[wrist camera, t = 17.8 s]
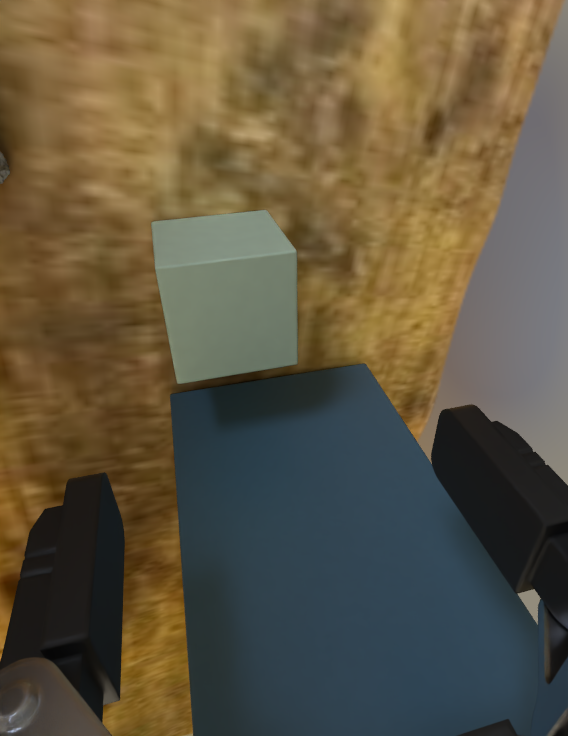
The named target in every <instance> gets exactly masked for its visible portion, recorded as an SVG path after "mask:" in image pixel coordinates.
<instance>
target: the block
mask: <svg viewBox="0 0 568 736" xmlns="http://www.w3.org/2000/svg"><path fill="white" fill-rule="evenodd" d="M151 227H152V238H153V250H154V261H155V271H156V276H157V281H158V286H159V292H160V297H161V302H162V307H163V312H164V318H165V323H166V328H167V333H168V339H169V344H170V349H171V354H172V359H173V365H174V370H175V375H176V380H177V383H178V384H183V383H189V382H195V381H201V380H207V379H213V378H219V377H225V376H231V375H237V374H243V373H249V372H255V371H261V370H267V369H273V368H279V367H285V366H291V365H296V364H298V311H297V251H296V249H295V248H294V247H293V245H292V244H291V243H290V241H289V240H288V239H287V237H286V236H285V234H284V233H283V232H282V230H281V229H280V228H279V226H278V225H277V224H276V222H275V221H274V219H273V218H272V217H271V215H270V214H269V213H268V211H267V210H260V211H250V212H241V213H231V214H221V215H211V216H202V217H192V218H182V219H172V220H163V221H153V222H152V223H151Z"/></svg>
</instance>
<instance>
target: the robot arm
mask: <svg viewBox="0 0 568 736" xmlns="http://www.w3.org/2000/svg"><path fill="white" fill-rule="evenodd" d="M431 460H432V466H433V470H434V472H435V475H436V477H437V478H438V480H439V481H440V483H441V484H442V486H443V487H444V489H445V490H446V492H447V493H448V495H449V496H450V498H451V499H452V501H453V502H454V503H455V505H456V506H457V508H458V509H459V511H460V512H461V514H462V515H463V517H464V518H465V520H466V521H467V523H468V524H469V526H470V527H471V529H472V530H473V532H474V533H475V535H476V536H477V538H478V539H479V540H480V542H481V543H482V545H483V546H484V548H485V549H486V551H487V552H488V554H489V555H490V557H491V558H492V560H493V561H494V563H495V564H496V566H497V567H498V569H499V570H500V572H501V573H502V575H503V576H504V578H505V579H506V580H507V582H508V583H509V585H510V586H511V588H512V589H513V591H514V592H515V594H517V593H521V592H525V591H528V590H531V589H535V591H536V592H537V593H538V595H539V596H540V598H541V599H540V602H539V605H538V692H537V699H536V703H535V707H534V711H533V715H532V721H531V730H530V736H568V485H567V484H566V483H565V482H564V481H563V480H562V479H561V478H560V477H559V476H558V475H557V474H556V473H555V472H554V471H553V470H552V469H551V468H550V467H549V465H545V461H543V459H542V458H541V457H540V456H539V455H538V454H537V453H536V452H533V450H532V448H531V447H530V446H529V445H528V443H526V441H525V440H524V439H523V438H522V437H521V436H520V435H519V434H518V433H517V432H515V431H513V430H511V429H510V428H508V427H507V426H505V425H503V424H502V423H500V422H498V421H494V422H491V421H490V420H489V419H488V418H487V417H486V416H485V414H484V413H483V412H482V411H481V410H480V409H479V408H478V407H477V406H475V405H465V406H461V407H455V408H450V409H445V410H442V411H441V413H440V415H439V419H438V424H437V429H436V434H435V439H434V443H433V448H432V453H431ZM124 548H125V541H124V529H123V523H122V518H121V515H120V512H119V509H118V506H117V503H116V500H115V497H114V494H113V491H112V488H111V485H110V482H109V479H108V476H107V474H106V473H105V472H104V473H99V474H93V475H88V476H83V477H77V478H72V479H69V480H68V482H67V485H66V490H65V496H64V503H63V505H62V506H57V507H52V508H47V509H45V510H44V511H43V513H42V514H41V516H40V517H39V518H38V520H37V521H36V523H35V524H34V526H33V527H32V529H31V530H30V533H29V537H28V542H27V546H26V551H25V555H24V556H25V560H23V564H22V569H21V573H20V577H21V579H20V580H19V582H18V586H17V591H16V595H15V600H14V604H13V609H12V613H11V618H10V622H9V627H8V631H7V636H6V640H5V645H4V649H3V654H2V658H1V661H0V736H112V735H111V734H110V732H109V731H108V730H107V728H106V727H105V726H104V725H103V723H102V718H103V705H105V704H109V703H112V702H116V701H119V700H120V681H121V647H122V614H123V581H124ZM457 736H523V735H517V733H516V731H515V730H514V728H513V726H512V724H511V722H510V720H509V719H506V720H503V721H500V722H496V723H493V724H490V725H487V726H484V727H481V728H478V729H475V730H472V731H469V732H466V733H463V734H460V735H457Z"/></svg>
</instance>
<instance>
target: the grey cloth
mask: <svg viewBox="0 0 568 736" xmlns="http://www.w3.org/2000/svg"><path fill="white" fill-rule="evenodd" d="M9 174H10V170H9V166H8V164H7V160H6V159H5V158H4V157H3V154H2V153H1V152H0V184H1V183H3V181H4V179H6V178H7V176H8V175H9Z"/></svg>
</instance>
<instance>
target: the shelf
mask: <svg viewBox="0 0 568 736" xmlns="http://www.w3.org/2000/svg"><path fill="white" fill-rule="evenodd" d="M170 402H171V416H172V431H173V446H174V460H175V475H176V490H177V504H178V519H179V533H180V548H181V563H182V577H183V592H184V607H185V621H186V636H187V651H188V665H189V680H190V694H191V709H192V724H193V736H457V735H460V734H463V733H466V732H469V731H472V730H475V729H478V728H481V727H484V726H487V725H490V724H493V723H496V722H500V721H503V720H506V719H509V720H510V722H511V724H512V726H513V728H514V730H515V731H516V733H517V735H523V736H530V730H531V721H532V715H533V711H534V707H535V703H536V699H537V692H538V625H537V623H536V622H535V620H534V619H533V617H532V616H531V614H530V613H529V611H528V610H527V608H526V607H525V605H524V603H523V602H522V601H521V599H520V598H519V596H518V594H515V592H514V591H513V589H512V588H511V586H510V585H509V583H508V582H507V580H506V579H505V578H504V576H503V575H502V573H501V572H500V570H499V569H498V567H497V566H496V564H495V563H494V561H493V560H492V558H491V557H490V555H489V554H488V552H487V551H486V549H485V548H484V546H483V545H482V543H481V542H480V540H479V539H478V538H477V536H476V535H475V533H474V532H473V530H472V529H471V527H470V526H469V524H468V523H467V521H466V520H465V518H464V517H463V515H462V514H461V512H460V511H459V509H458V508H457V506H456V505H455V503H454V502H453V501H452V499H451V498H450V496H449V495H448V493H447V492H446V490H445V489H444V487H443V486H442V484H441V483H440V481H439V480H438V478H437V477H436V475H435V472H434V470H433V466H432V464H431V462H430V461H429V459H428V458H427V456H426V455H425V453H424V452H423V450H422V449H421V447H420V446H419V444H418V443H417V441H416V440H415V438H414V437H413V435H412V434H411V432H410V430H409V429H408V427H407V426H406V424H405V423H404V421H403V420H402V418H401V417H400V415H399V414H398V412H397V411H396V409H395V408H394V406H393V405H392V403H391V402H390V400H389V399H388V397H387V396H386V394H385V393H384V391H383V390H382V388H381V386H380V385H379V383H378V382H377V380H376V379H375V377H374V376H373V374H372V373H371V371H370V370H369V368H368V367H367V365H366V364H358V365H352V366H345V367H339V368H333V369H327V370H320V371H314V372H308V373H301V374H295V375H289V376H283V377H276V378H270V379H264V380H257V381H251V382H245V383H239V384H232V385H226V386H220V387H213V388H207V389H201V390H195V391H188V392H182V393H176V394H171V395H170Z"/></svg>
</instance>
